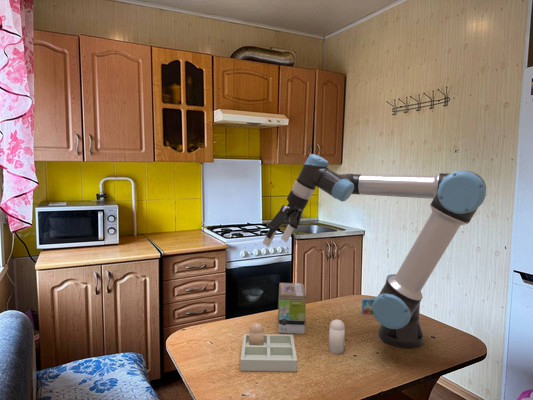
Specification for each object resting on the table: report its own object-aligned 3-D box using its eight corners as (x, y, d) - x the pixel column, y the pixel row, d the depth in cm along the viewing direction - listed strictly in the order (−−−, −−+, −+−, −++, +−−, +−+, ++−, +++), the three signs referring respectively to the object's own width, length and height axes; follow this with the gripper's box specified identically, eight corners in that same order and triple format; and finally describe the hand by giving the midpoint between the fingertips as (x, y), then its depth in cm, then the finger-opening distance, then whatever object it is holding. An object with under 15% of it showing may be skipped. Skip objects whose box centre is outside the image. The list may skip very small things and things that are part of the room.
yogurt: (388, 311, 159) (389, 297, 159) (390, 313, 158) (390, 299, 157) (361, 313, 158) (362, 298, 157) (363, 314, 156) (363, 300, 155)
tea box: (305, 334, 137) (306, 295, 135) (278, 333, 137) (279, 294, 136) (302, 317, 152) (303, 282, 150) (277, 317, 152) (278, 281, 151)
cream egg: (342, 346, 128) (343, 317, 127) (345, 353, 123) (346, 323, 122) (327, 346, 128) (328, 316, 127) (330, 353, 123) (331, 323, 122)
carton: (292, 344, 129) (293, 318, 128) (296, 371, 112) (297, 341, 111) (243, 343, 129) (243, 317, 128) (240, 370, 112) (240, 340, 111)
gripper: (307, 189, 148) (283, 233, 155) (275, 189, 127) (249, 240, 134) (322, 199, 145) (297, 243, 151) (291, 201, 124) (264, 252, 130)
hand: (275, 242), depth 143 cm, fingers open, 13 cm apart
